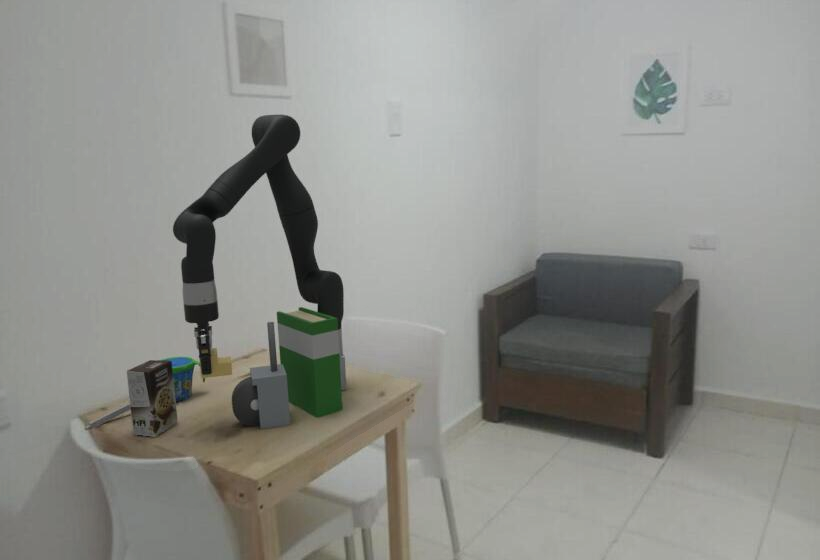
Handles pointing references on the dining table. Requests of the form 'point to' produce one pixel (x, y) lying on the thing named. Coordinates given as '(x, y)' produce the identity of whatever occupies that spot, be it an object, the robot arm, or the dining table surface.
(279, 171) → the robot arm
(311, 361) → the hardback book
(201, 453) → the dining table surface
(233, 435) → the dining table surface
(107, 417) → the caliper
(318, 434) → the dining table surface
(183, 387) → the snack cup
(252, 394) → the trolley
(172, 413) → the coffee box
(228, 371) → the wedge
